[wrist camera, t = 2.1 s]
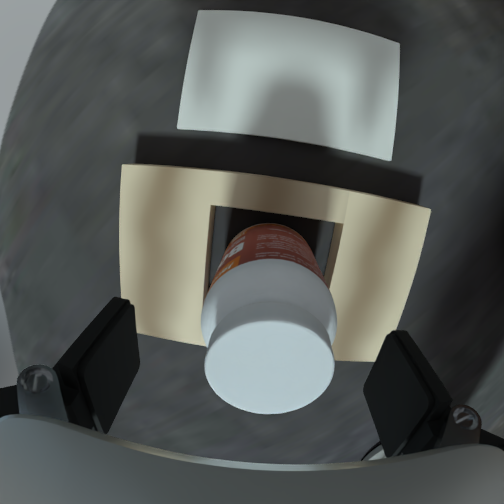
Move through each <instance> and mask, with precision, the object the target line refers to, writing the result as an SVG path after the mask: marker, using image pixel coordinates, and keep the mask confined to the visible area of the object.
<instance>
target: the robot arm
mask: <svg viewBox="0 0 504 504" xmlns="http://www.w3.org/2000/svg"><path fill="white" fill-rule="evenodd" d="M139 366H140V358H139V349H138V340H137V330H136V318H135V307H134V305H133V304H131V303H130V300H128V299H123V298H118V297H114V298H112V300H111V301H110V302H109V303H108V304H107V305H106V306H105V307H104V308H103V309H102V311H101V312H100V313H99V314H98V315H97V316H96V317H95V319H94V320H93V321H92V322H91V323H90V324H89V325H88V327H87V328H86V329H85V330H84V331H83V332H82V333H81V334H80V336H79V337H78V338H77V339H76V340H75V342H74V343H73V344H72V345H71V346H70V348H69V349H68V350H67V351H66V352H65V354H64V355H63V356H62V357H61V358H60V360H59V361H58V362H57V363H56V365H55V366H54V367H53V368H51V367H49V366H47V365H42V364H36V365H31V366H28V367H27V368H25V369H23V370H22V371H21V372H20V374H19V376H18V378H17V385H14V386H10V387H5V388H0V504H504V439H503V438H500V437H498V436H496V435H494V434H491V433H489V432H487V431H485V430H483V429H481V425H482V424H481V418H480V416H479V414H478V413H477V412H476V411H475V410H474V409H473V408H471V407H469V406H467V405H460V404H459V405H456V406H454V407H453V408H452V409H451V407H450V406H449V405H450V404H451V402H452V401H453V400H452V398H451V397H450V395H449V393H448V392H447V390H446V389H445V387H444V386H443V384H442V382H441V381H440V379H439V378H438V376H437V375H436V373H435V372H434V370H433V369H432V367H431V366H430V364H429V363H428V361H427V360H426V358H425V357H424V355H423V354H422V352H421V351H420V349H419V348H418V346H417V345H416V343H415V342H414V341H413V339H412V338H411V336H410V335H409V334H408V332H407V331H404V330H393V331H391V332H390V334H387V335H386V337H385V339H384V342H383V344H382V346H381V349H380V351H379V353H378V356H377V358H376V360H375V363H374V365H373V367H372V369H371V371H370V374H369V376H368V378H367V380H366V382H365V384H364V388H363V392H364V395H365V398H366V401H367V404H368V406H369V409H370V412H371V415H372V418H373V421H374V424H375V427H376V429H377V432H378V435H379V438H380V441H381V445H380V446H378V447H377V448H375V449H374V450H373V451H371V452H370V453H369V454H368V455H367V456H366V457H365V458H364V459H363V460H362V461H358V462H347V463H333V464H306V465H288V464H261V463H247V462H236V461H227V460H219V459H211V458H204V457H198V456H192V455H186V454H181V453H176V452H171V451H166V450H162V449H158V448H153V447H149V446H145V445H142V444H138V443H134V442H130V441H126V440H123V439H119V438H116V437H113V436H109V435H106V434H107V433H108V431H109V429H110V427H111V425H112V423H113V421H114V419H115V417H116V415H117V412H118V410H119V408H120V406H121V404H122V402H123V400H124V398H125V396H126V394H127V392H128V390H129V388H130V386H131V384H132V382H133V380H134V378H135V376H136V374H137V372H138V369H139ZM103 433H104V434H103Z"/></svg>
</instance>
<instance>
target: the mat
mask: <svg viewBox="0 0 504 504" xmlns="http://www.w3.org/2000/svg"><path fill="white" fill-rule="evenodd" d="M399 65H400V43H397V42H394V41H391V40H388V39H385V38H382V37H379V36H376V35H373V34H370V33H366V32H363V31H360V30H356V29H352V28H348V27H345V26H341V25H336V24H332V23H327V22H323V21H318V20H313V19H307V18H301V17H295V16H288V15H281V14H272V13H263V12H250V11H231V10H198V14H197V19H196V23H195V27H194V32H193V37H192V41H191V46H190V51H189V56H188V62H187V67H186V72H185V78H184V84H183V90H182V96H181V103H180V110H179V117H178V124H177V129H185V130H202V131H215V132H227V133H237V134H246V135H255V136H263V137H270V138H277V139H284V140H291V141H297V142H303V143H309V144H314V145H320V146H325V147H330V148H335V149H340V150H345V151H349V152H354V153H358V154H362V155H367V156H371V157H375V158H379V159H383V160H387V161H391V158H392V151H393V143H394V135H395V126H396V115H397V103H398V88H399Z"/></svg>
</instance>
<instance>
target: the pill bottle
mask: <svg viewBox="0 0 504 504" xmlns="http://www.w3.org/2000/svg"><path fill="white" fill-rule="evenodd" d="M201 331H202V335H203V339H204V341H205V344H206V346H207V353H206V357H205V374H206V377H207V380H208V382H209V384H210V386H211V387H212V389H213V390H214V391H215V393H216V394H217V395H218V396H220V397H221V398H222V399H223V400H224V401H226V402H227V403H229V404H231V405H233V406H235V407H237V408H239V409H242V410H245V411H249V412H253V413H260V414H277V413H285V412H289V411H293V410H296V409H299V408H301V407H303V406H305V405H307V404H309V403H311V402H312V401H314V400H315V399H316V398H318V397H319V396H320V395H321V394H322V393H323V392H324V391H325V389H326V388H327V387H328V385H329V384H330V381H331V379H332V376H333V373H334V366H335V361H334V354H333V350H332V344H333V342H334V339H335V336H336V331H337V313H336V308H335V304H334V300H333V298H332V295H331V292H330V290H329V288H328V286H327V283H326V281H325V279H324V277H323V275H322V273H321V271H320V268H319V266H318V264H317V262H316V260H315V257H314V255H313V253H312V251H311V249H310V247H309V245H308V244H307V242H306V241H305V240H304V238H303V237H302V236H301V235H300V234H298V233H297V232H296V231H294V230H293V229H291V228H289V227H287V226H284V225H281V224H276V223H262V224H257V225H253V226H251V227H248V228H246V229H244V230H243V231H241V232H240V233H239V234H237V235H236V236H235V237H234V238H233V240H232V241H231V242H230V244H229V245H228V247H227V249H226V251H225V253H224V255H223V258H222V260H221V262H220V265H219V267H218V269H217V272H216V274H215V276H214V279H213V281H212V283H211V286H210V288H209V291H208V293H207V296H206V298H205V301H204V305H203V308H202V312H201Z"/></svg>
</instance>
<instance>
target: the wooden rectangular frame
mask: <svg viewBox="0 0 504 504" xmlns="http://www.w3.org/2000/svg"><path fill="white" fill-rule="evenodd" d="M216 205H217V206H226V207H234V208H241V209H249V210H257V211H264V212H271V213H278V214H285V215H292V216H299V217H305V218H312V219H318V220H324V221H331V222H335V227H334V232H333V237H332V242H331V247H330V251H329V256H328V261H327V265H326V270H325V274H324V279H325V281H326V283H327V286H328V288H329V290H330V292H331V295H332V298H333V300H334V304H335V308H336V313H337V331H336V336H335V339H334V342H333V344H332V350H333V354H334V360H340V361H369V362H375V360H376V358H377V356H378V353H379V351H380V349H381V346H382V344H383V342H384V339H385V337H386V335H387V334H390V332H391V331H393V330H396V328H397V325H398V323H399V320H400V317H401V315H402V312H403V309H404V306H405V303H406V300H407V297H408V294H409V291H410V288H411V285H412V282H413V279H414V275H415V272H416V269H417V265H418V262H419V258H420V254H421V250H422V247H423V243H424V239H425V235H426V230H427V226H428V222H429V217H430V212H431V209H428V208H426V207H423V206H420V205H417V204H413V203H409V202H405V201H401V200H396V199H392V198H388V197H383V196H379V195H374V194H369V193H364V192H359V191H355V190H349V189H344V188H339V187H334V186H328V185H323V184H317V183H311V182H305V181H299V180H292V179H286V178H279V177H272V176H265V175H257V174H250V173H241V172H233V171H224V170H215V169H204V168H193V167H182V166H168V165H153V164H122V173H121V190H120V219H119V250H120V280H121V297H122V298H123V299H128V300H130V303H131V304H133V305H134V307H135V318H136V330H137V333H141V334H145V335H150V336H155V337H159V338H164V339H169V340H174V341H180V342H185V343H190V344H196V345H202V346H206V344H205V341H204V339H203V335H202V331H201V312H202V308H203V305H204V301H205V298H206V296H207V293H208V285H209V272H210V260H211V249H212V238H213V227H214V217H215V207H216Z"/></svg>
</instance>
